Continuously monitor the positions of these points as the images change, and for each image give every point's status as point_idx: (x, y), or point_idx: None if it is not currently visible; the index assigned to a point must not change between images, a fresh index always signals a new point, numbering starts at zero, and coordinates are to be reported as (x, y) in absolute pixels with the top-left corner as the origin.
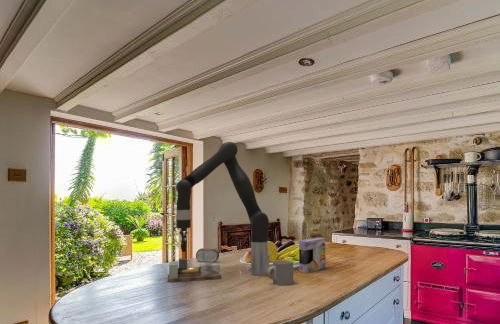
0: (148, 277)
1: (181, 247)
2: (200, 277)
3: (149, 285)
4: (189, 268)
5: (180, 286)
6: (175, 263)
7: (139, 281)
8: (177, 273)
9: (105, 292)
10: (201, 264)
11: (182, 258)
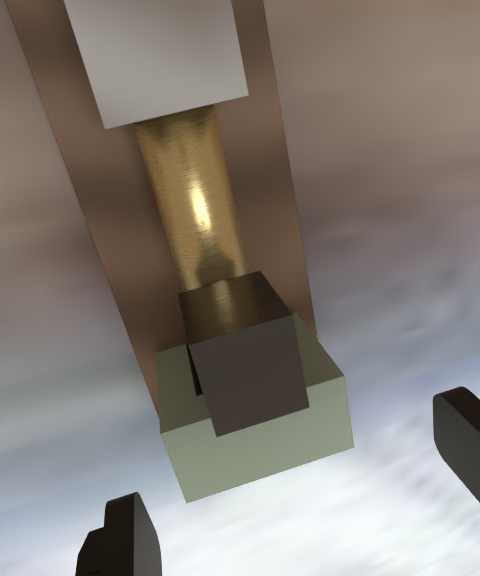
0: None
1: (159, 572)
2: (276, 92)
3: (375, 444)
4: (234, 245)
5: (441, 241)
6: (266, 421)
7: (268, 532)
8: (309, 332)
9: (466, 569)
10: (129, 95)
11: (210, 396)
